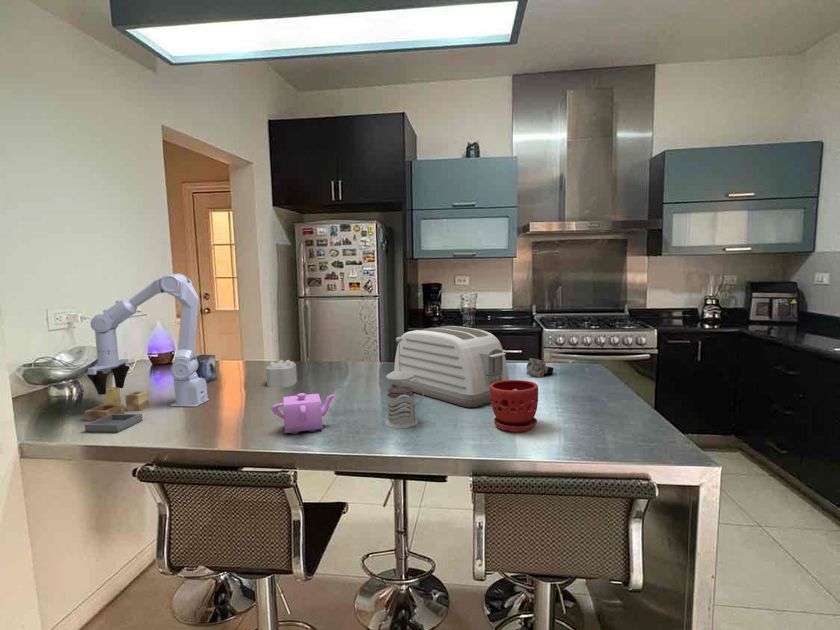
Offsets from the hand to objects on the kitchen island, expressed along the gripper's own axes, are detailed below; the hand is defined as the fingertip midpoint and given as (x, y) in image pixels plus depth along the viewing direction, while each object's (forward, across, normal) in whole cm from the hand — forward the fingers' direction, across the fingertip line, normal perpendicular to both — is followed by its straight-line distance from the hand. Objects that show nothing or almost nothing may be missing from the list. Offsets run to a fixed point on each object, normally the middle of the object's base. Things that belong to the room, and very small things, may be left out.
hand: (111, 391), depth 154 cm
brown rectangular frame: (+6, +8, +4) cm, 11 cm away
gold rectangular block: (+6, 0, 0) cm, 6 cm away
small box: (+6, -35, +10) cm, 37 cm away
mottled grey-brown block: (+6, -50, +145) cm, 154 cm away
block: (+6, 0, +9) cm, 11 cm away
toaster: (+6, -25, +111) cm, 114 cm away
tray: (+6, +16, +14) cm, 22 cm away
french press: (+6, +8, +99) cm, 100 cm away
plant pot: (+6, +10, +130) cm, 131 cm away
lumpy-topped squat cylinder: (+6, -35, +44) cm, 57 cm away
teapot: (+6, +15, +72) cm, 74 cm away
